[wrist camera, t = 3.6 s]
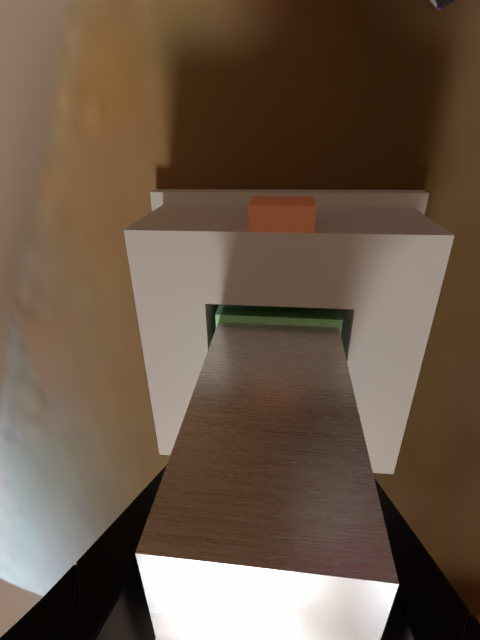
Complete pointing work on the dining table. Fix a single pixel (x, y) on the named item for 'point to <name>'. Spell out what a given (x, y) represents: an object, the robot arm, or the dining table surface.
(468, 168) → the dining table surface
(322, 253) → the stand base
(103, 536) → the robot arm
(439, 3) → the candy bar box
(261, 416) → the column
